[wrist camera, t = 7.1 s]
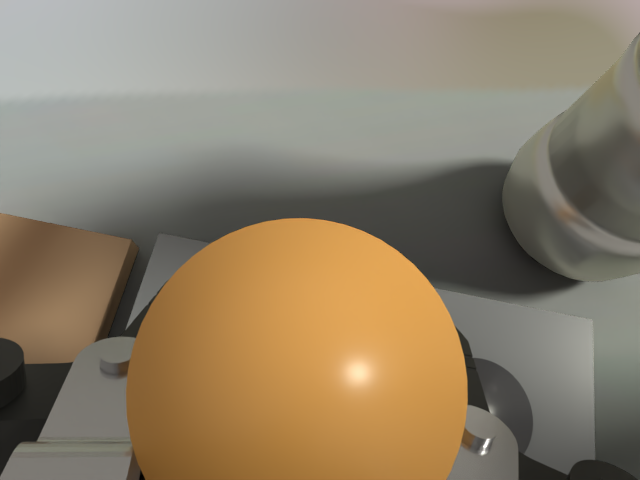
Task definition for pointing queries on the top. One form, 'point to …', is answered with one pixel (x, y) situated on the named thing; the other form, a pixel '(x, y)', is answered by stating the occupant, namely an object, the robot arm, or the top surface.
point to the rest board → (59, 286)
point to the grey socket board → (489, 361)
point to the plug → (297, 363)
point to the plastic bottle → (583, 181)
